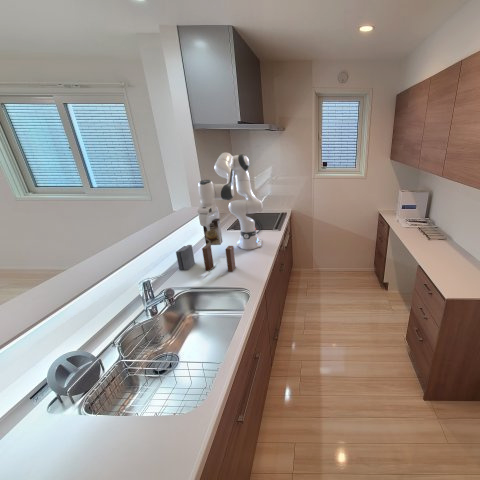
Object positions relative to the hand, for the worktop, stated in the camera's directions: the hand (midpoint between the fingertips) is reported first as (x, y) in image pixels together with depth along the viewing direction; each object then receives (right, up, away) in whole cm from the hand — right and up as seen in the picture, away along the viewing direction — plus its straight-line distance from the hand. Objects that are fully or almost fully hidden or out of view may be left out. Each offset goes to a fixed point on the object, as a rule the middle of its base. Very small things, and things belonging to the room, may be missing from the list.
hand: (211, 228), depth 156 cm
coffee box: (0, -10, +4) cm, 11 cm away
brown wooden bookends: (+2, -27, +10) cm, 29 cm away
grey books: (-22, -25, +12) cm, 36 cm away
